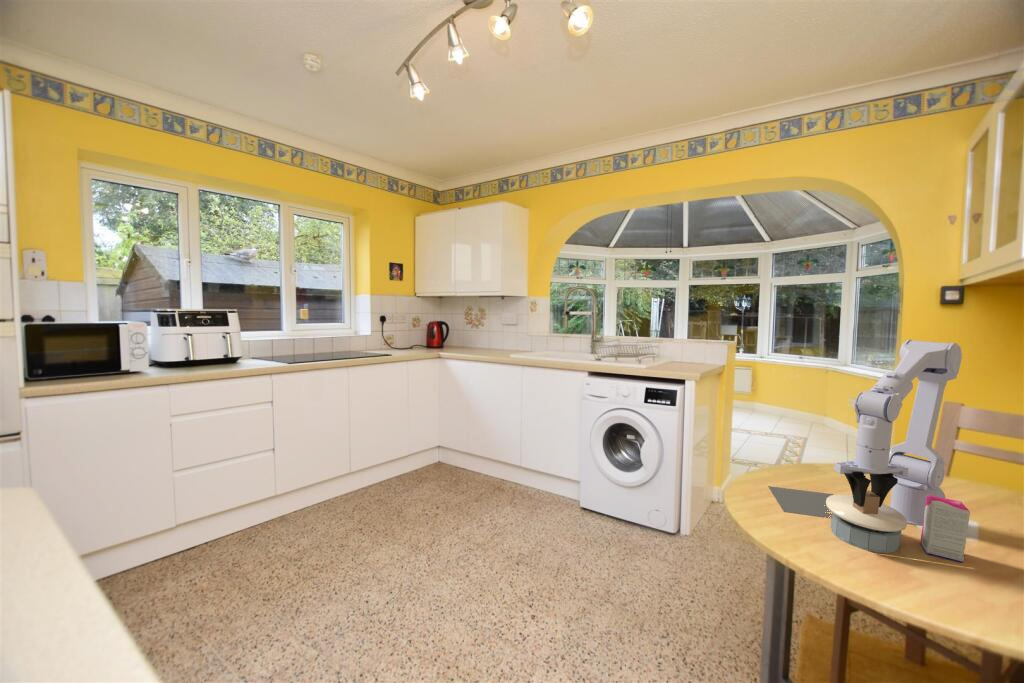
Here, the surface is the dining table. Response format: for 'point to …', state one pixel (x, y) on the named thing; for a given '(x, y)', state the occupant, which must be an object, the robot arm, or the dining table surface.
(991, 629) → the dining table surface
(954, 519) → the supplement box
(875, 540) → the bowl
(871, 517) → the lid
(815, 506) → the mat
